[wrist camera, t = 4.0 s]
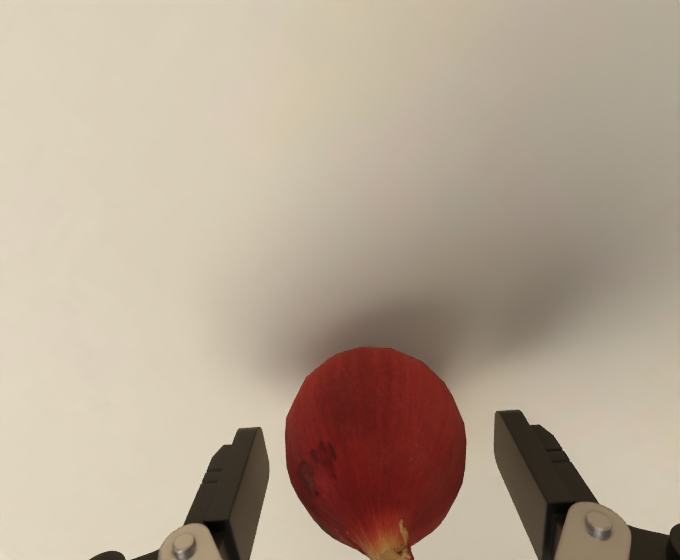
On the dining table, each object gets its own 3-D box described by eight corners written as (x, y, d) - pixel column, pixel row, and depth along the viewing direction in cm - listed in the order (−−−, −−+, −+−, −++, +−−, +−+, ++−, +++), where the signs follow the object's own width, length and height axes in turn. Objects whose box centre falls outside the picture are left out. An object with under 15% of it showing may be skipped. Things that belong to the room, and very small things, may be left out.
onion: (335, 444, 18) (322, 668, 11) (275, 341, 16) (209, 523, 9) (458, 402, 17) (541, 616, 10) (409, 287, 15) (463, 441, 8)
